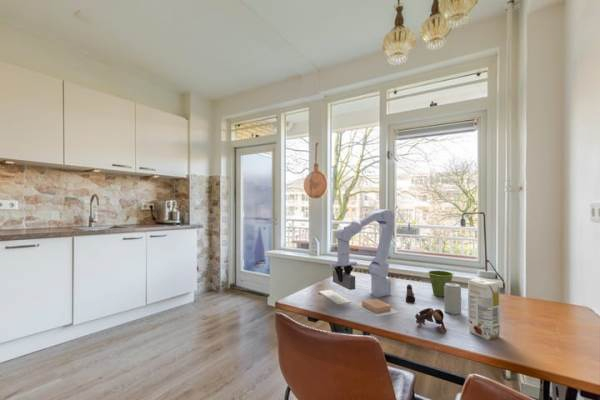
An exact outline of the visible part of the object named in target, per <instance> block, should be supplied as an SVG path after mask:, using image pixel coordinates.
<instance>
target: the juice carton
mask: <svg viewBox="0 0 600 400" xmlns="http://www.w3.org/2000/svg"><path fill="white" fill-rule="evenodd" d="M500 295H501V293H500V283H499V282H496V281H490V280H486V279H483V278H482V277H481V278H480V277H479V278H477V277H476V278H471V279H468V283H467V304H468V305H467V307H468V309H467V311H468V313H467V314H468V315H467V316H468V331H469V333H470V334H474V335H475V336H478V337H481V338H483V339H485V340H487V341H489V340H492V339H496V338H499V337H500V334H501V296H500Z"/></svg>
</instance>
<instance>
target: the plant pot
mask: <svg viewBox="0 0 600 400" xmlns="http://www.w3.org/2000/svg"><path fill="white" fill-rule="evenodd" d="M427 274H428V275H429V279H430V283H431V287H432V288H431V289H432V293H433V295H434V296H436V297H439V296H440V297H444V286H445V283H452V280H453V276H454V273H453V272H450V271H447V270H428V272H427ZM440 297H439V298H440Z"/></svg>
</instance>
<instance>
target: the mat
mask: <svg viewBox="0 0 600 400" xmlns="http://www.w3.org/2000/svg"><path fill="white" fill-rule="evenodd" d="M355 305H356V306H357V307H359V308H361V309H362V310H364V311H366V312H368V313H370V314H372V316H374V317H380V316H387V315H392V314H398V313H399V311H398V310H397V309H394V308H393V307H391V310H390V311H384V312H378V313H375V312H373V311H372V310H370V309H368V308H366V307H365V306H363V305H362V302H357V303H355Z"/></svg>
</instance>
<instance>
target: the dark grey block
mask: <svg viewBox="0 0 600 400" xmlns="http://www.w3.org/2000/svg"><path fill="white" fill-rule="evenodd" d="M332 282H333V283H335V284H337V285H339V286H341V287H342V288H345V289H346V290H349V291H352V290H356V276H355V275H353V274H351V273H350V274H348V273H345V272H344V271H343V273H342V282H339V281H338V276H337V273H336V271H335V269H333V270H332Z"/></svg>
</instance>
